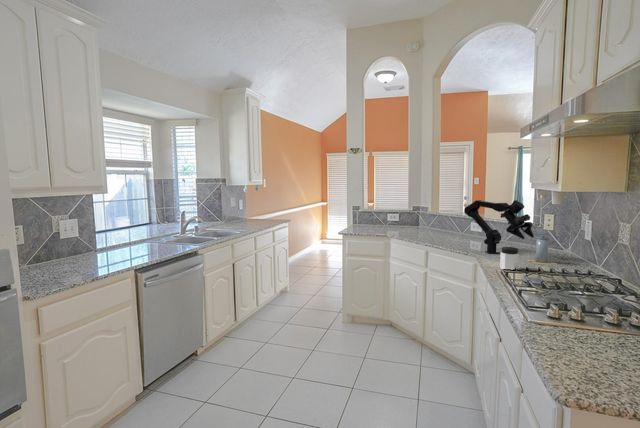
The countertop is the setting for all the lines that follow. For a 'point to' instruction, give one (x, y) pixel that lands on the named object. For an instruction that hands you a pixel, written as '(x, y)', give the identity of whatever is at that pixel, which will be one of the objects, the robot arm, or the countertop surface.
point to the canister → (542, 249)
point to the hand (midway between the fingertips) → (528, 237)
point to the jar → (509, 258)
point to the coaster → (541, 263)
